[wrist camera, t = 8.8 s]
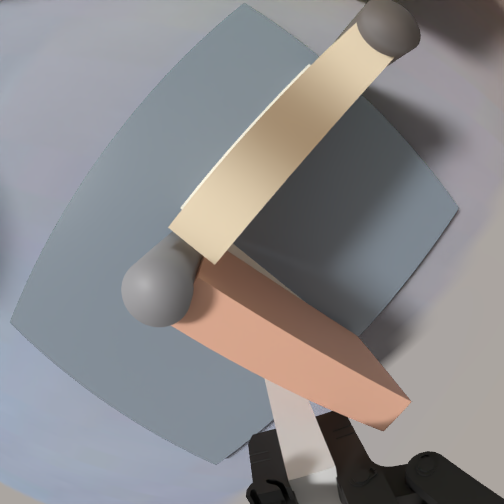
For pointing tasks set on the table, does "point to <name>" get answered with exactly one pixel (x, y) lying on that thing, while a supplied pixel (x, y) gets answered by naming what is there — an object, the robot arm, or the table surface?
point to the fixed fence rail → (294, 127)
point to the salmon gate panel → (261, 329)
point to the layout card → (244, 247)
